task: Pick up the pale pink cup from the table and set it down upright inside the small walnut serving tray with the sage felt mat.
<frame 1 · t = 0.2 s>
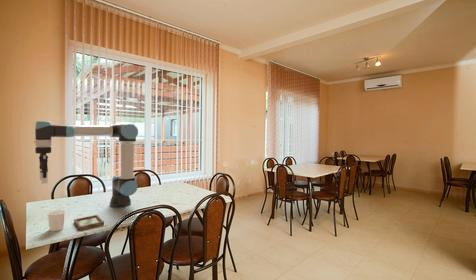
hand: (43, 181, 146), 27 cm above the table, tool pointing down, fingers open, 13 cm apart
walnut tray: (88, 223, 151), on the table
pale pink cup: (56, 229, 142), on the table
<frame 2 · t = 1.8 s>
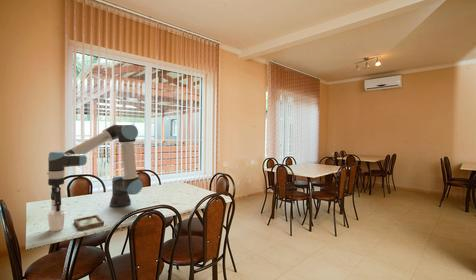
hand: (55, 213, 141), 9 cm above the table, tool pointing down, fingers open, 13 cm apart
nothing on the table moved.
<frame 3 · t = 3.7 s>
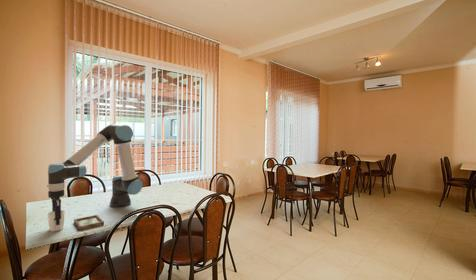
hand: (56, 227, 142), 1 cm above the table, tool pointing down, fingers closed on pale pink cup, 8 cm apart
pale pink cup: (56, 229, 142), on the table, touching gripper
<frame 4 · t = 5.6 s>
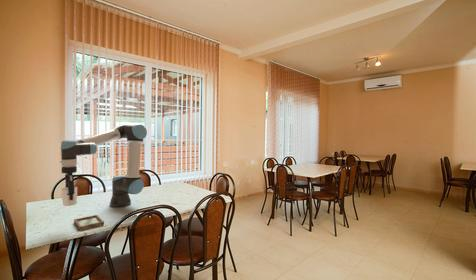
hand: (69, 203, 145), 15 cm above the table, tool pointing down, fingers closed on pale pink cup, 8 cm apart
pale pink cup: (69, 204, 145), point 14 cm above the table, touching gripper
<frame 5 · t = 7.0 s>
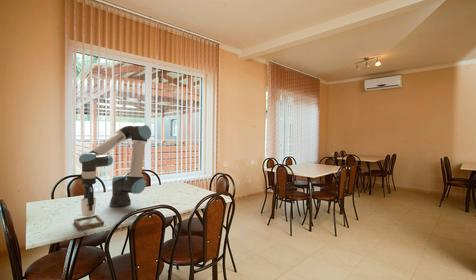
hand: (88, 213, 150), 7 cm above the table, tool pointing down, fingers closed on pale pink cup, 8 cm apart
pale pink cup: (88, 215, 150), point 6 cm above the table, touching gripper
when the fingers open (3 cm above the table, at t = 8.0 s): pale pink cup drops 1 cm, resting on walnut tray.
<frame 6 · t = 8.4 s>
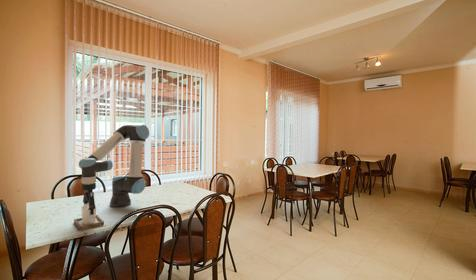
hand: (88, 216, 151), 5 cm above the table, tool pointing down, fingers open, 13 cm apart
pale pink cup: (88, 222, 151), point 1 cm above the table, touching walnut tray
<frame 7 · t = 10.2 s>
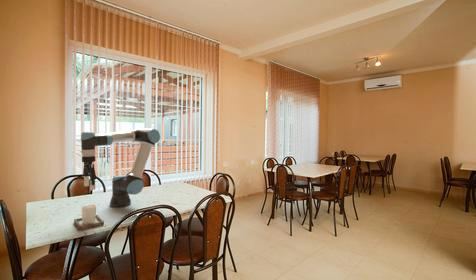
hand: (89, 187, 157), 21 cm above the table, tool pointing down, fingers open, 13 cm apart
nothing on the table moved.
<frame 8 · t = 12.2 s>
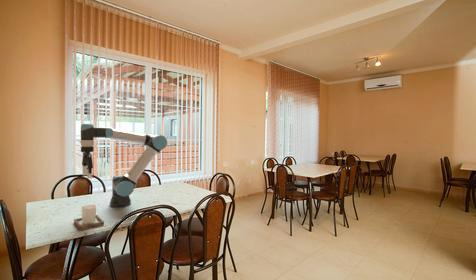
hand: (87, 176, 166), 27 cm above the table, tool pointing down, fingers open, 13 cm apart
nothing on the table moved.
at the end: pale pink cup 0.0 cm off-centre on the walnut tray, point 0.8 cm above the walnut tray's base; pale pink cup tilted 0°; the gripper is holding nothing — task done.
